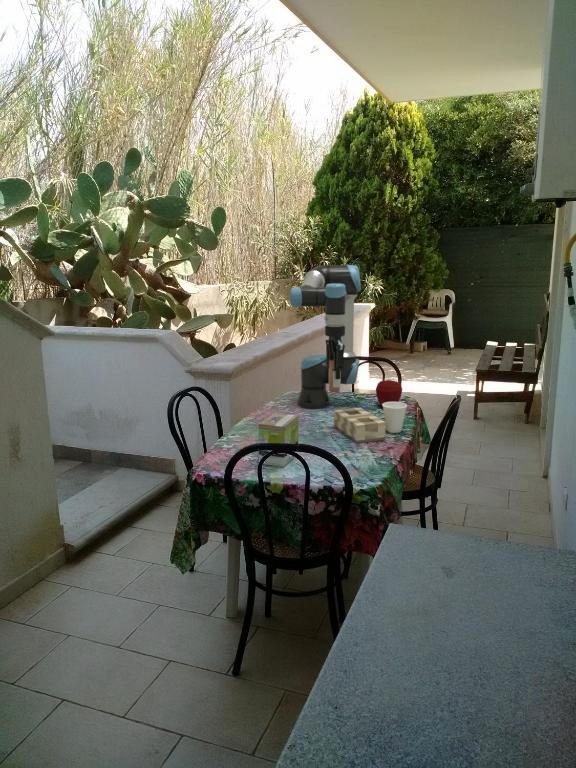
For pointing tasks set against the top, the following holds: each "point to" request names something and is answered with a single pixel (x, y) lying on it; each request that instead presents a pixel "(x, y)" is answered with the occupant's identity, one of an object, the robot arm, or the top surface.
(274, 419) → the tea box
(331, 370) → the peg
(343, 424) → the hole block
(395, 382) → the apple
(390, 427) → the cup
